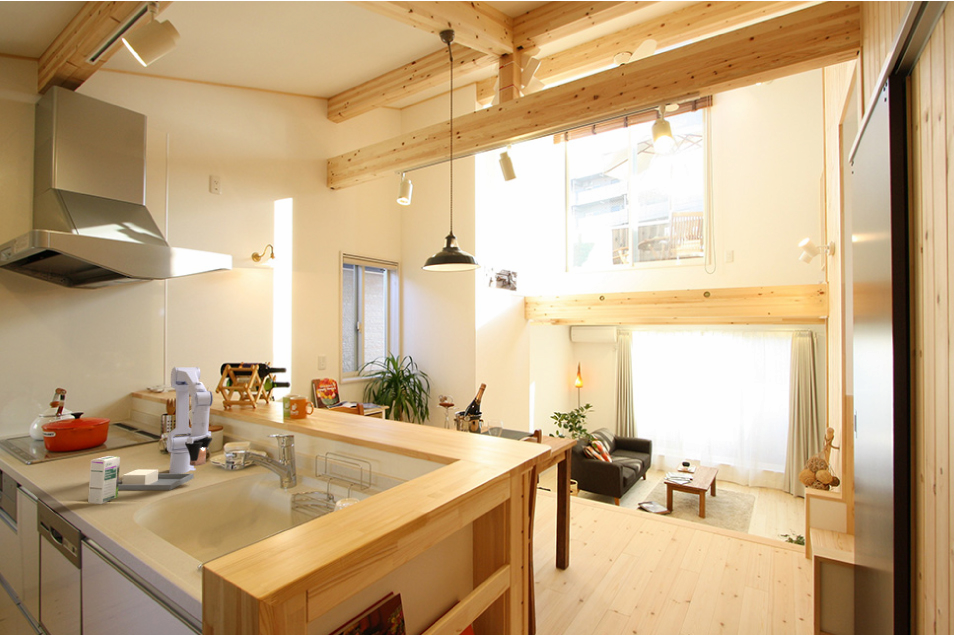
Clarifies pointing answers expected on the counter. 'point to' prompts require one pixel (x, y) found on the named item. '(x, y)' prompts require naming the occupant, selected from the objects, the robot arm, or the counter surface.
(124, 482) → the plain cream box
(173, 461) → the robot arm
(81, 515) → the counter surface
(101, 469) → the syrup box
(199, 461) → the tin can
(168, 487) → the tray
